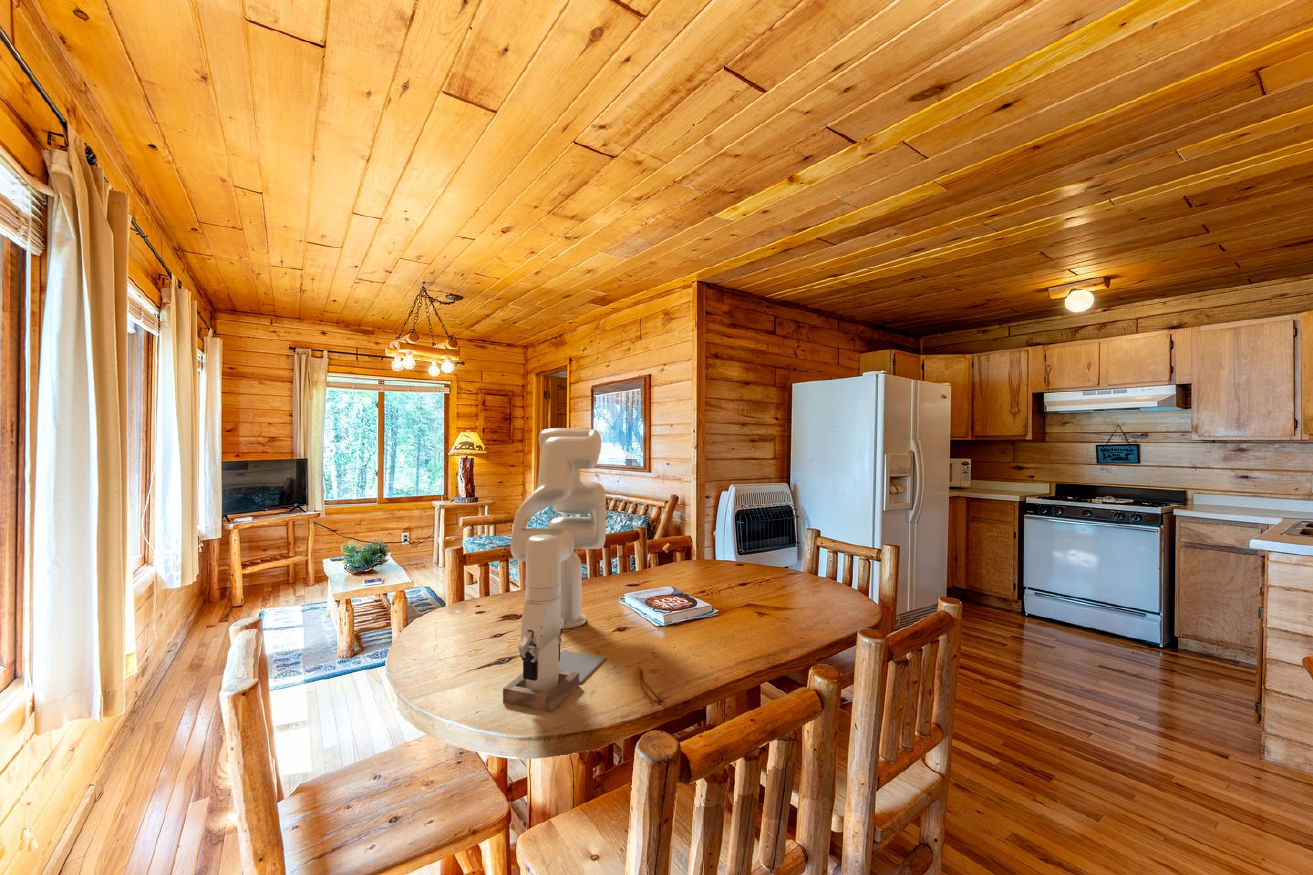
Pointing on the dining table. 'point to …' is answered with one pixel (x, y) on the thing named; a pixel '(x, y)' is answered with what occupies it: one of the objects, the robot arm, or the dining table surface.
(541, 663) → the skincare box
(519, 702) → the square box holder
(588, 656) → the rubber mat
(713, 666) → the dining table surface
